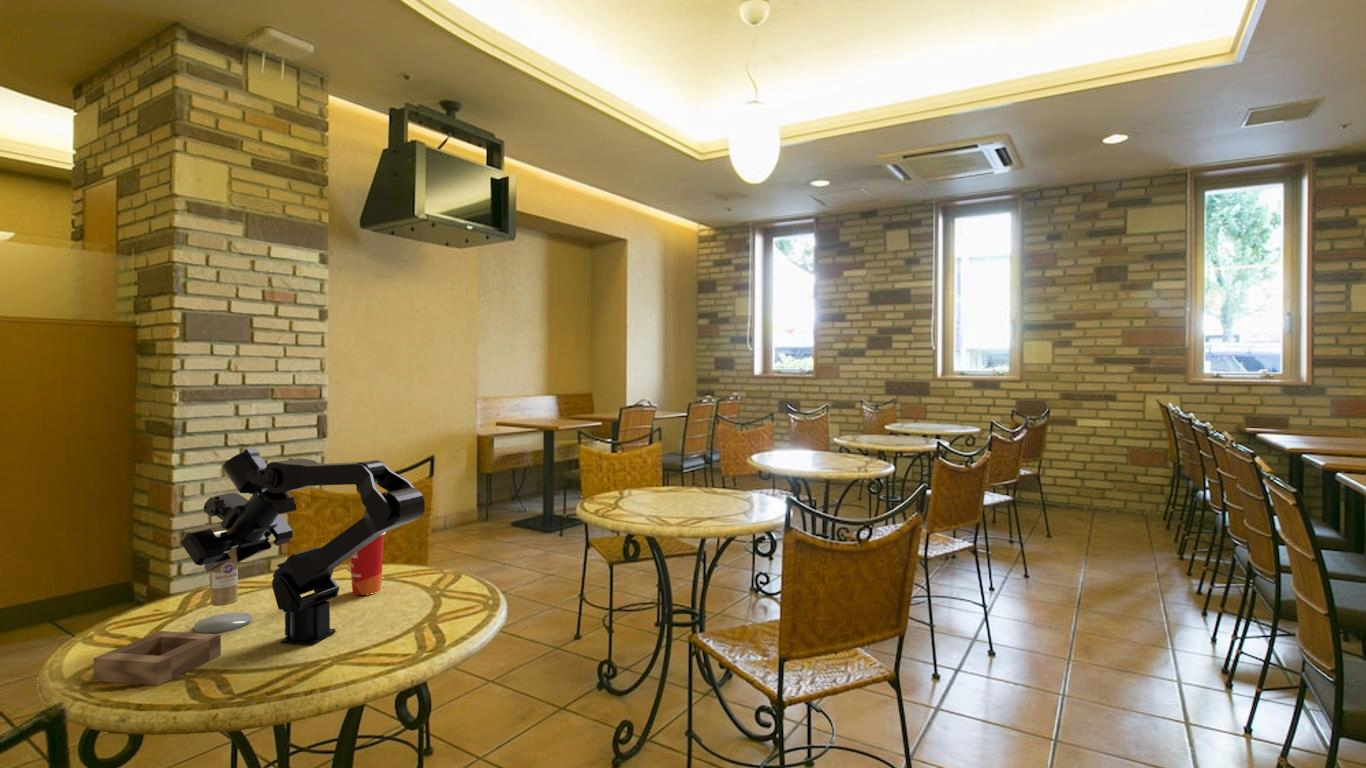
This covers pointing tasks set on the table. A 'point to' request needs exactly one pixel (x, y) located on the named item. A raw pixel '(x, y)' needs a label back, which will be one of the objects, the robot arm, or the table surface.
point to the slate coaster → (223, 622)
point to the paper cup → (367, 568)
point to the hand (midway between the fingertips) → (218, 566)
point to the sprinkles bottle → (225, 580)
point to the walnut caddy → (157, 658)
